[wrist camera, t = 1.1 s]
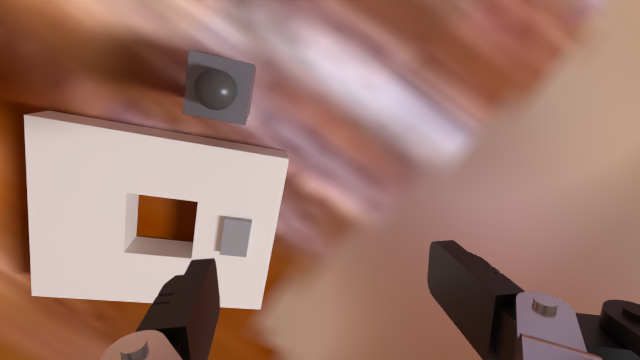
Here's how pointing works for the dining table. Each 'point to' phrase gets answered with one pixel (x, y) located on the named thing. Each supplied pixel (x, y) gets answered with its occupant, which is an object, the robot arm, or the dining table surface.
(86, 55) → the dining table surface
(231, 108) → the gray knobbed square peg
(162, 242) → the socket plate
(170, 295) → the robot arm
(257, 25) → the dining table surface
